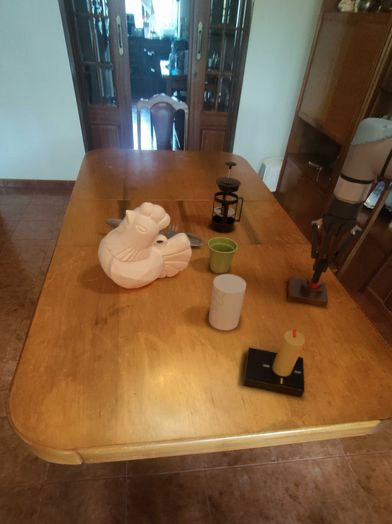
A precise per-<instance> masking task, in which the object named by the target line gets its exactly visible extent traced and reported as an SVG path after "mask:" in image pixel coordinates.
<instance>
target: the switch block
mask: <svg viewBox="0 0 392 524" xmlns="http://www.w3.org/2000/svg"><path fill="white" fill-rule="evenodd" d="M310 278H311V277H308V278H300V277H294V276H289V279H288V282H287V301H288V302H291V303H297V304H302V305H303V304H304V305H308V306H314V307H321V308H326V307H327V305H328V303H329V299H328V292H327V285H326V282H324V281H321V284H320V287H319V288H317V289H315V288H311V287H309V286H308V285H307V283H308V280H309V279H310Z"/></svg>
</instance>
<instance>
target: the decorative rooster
mask: <svg viewBox="0 0 392 524" xmlns="http://www.w3.org/2000/svg"><path fill="white" fill-rule="evenodd" d="M122 220H123V221H122V222H121V223H120V224H119V226H118V227H117V228H116V227H114V228H113V229H112V230H110V231H109V232H108V233H107V234H106V235H105V236H104V237H103V238H102V239H101V240H100V242H99V245H98V250H97V257H98V260H99V263H100V266H101V269H102V270H103V272H104V273H105V275H106V276H107V277H108V278H110V280H112V281H113V282H114V283H115V284H116V285H118V286H119V287H122V288H123V289H139V288H142V287H145V286H147V285H149V284H151V283H153V282H154V281H156V280H157V279H164V278H166V277H169V278H171V277H174V276H175V275H177V274H179V272H183V271H184V270H185V269H187V268H188V266H189V262H190V261H191V257H192V255H193V249H192V246H190V241H189V239H188V237H187V235H186V234H185V233H186V232H178V233H177V235H175V236H173V237H171V238H170V239H168V238H166V236H164V235H162V234H158V233H159V231H160V230H162V231H163V230H164V229H166V228H167V227H169V225H171V224H170V223H171V217H170V215H169V213H167V212H166V210H165V209H164V207H162V206H161V205H158V204H157V203H154V204H153V203H152V202H148V201H145V202H142V203H141V204H140V206H137V207H135V208H134V209H133V210H130V209H126V210H125V216H124V217H123V219H122ZM167 239H168V240H167ZM159 241H162V242H159Z"/></svg>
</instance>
